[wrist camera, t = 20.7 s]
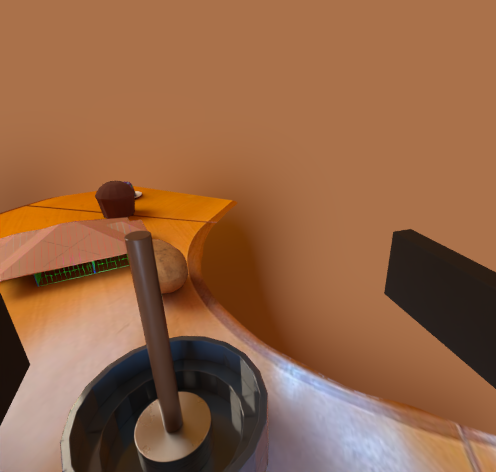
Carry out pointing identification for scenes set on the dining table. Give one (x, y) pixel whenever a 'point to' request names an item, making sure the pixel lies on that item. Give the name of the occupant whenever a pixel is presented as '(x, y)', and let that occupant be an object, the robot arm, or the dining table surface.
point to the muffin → (116, 199)
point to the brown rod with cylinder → (164, 380)
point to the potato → (169, 266)
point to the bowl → (144, 393)
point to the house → (64, 247)
